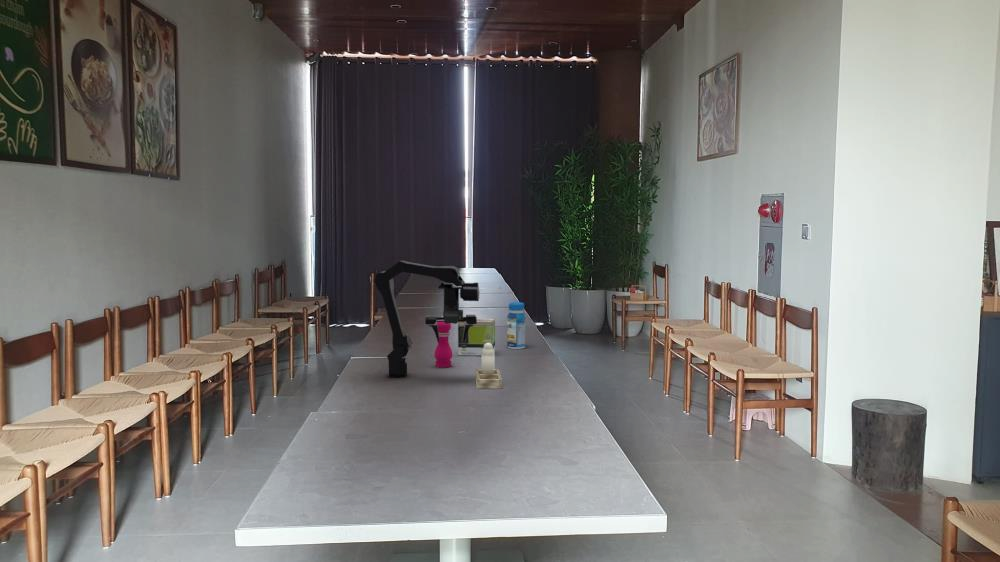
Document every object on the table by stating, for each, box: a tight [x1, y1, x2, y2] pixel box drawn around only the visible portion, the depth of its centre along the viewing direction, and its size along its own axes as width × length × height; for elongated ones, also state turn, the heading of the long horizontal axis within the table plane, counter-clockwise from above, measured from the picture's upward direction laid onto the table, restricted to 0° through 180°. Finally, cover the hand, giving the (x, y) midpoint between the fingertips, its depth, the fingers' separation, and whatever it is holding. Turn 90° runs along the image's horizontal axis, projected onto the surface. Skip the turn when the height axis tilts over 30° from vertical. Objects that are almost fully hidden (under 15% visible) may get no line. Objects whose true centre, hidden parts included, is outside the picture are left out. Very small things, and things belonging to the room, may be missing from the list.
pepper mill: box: [433, 315, 453, 368], centre depth 297 cm, size 7×7×20 cm
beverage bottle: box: [506, 301, 527, 350], centre depth 335 cm, size 8×8×20 cm
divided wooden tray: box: [474, 368, 504, 390], centre depth 271 cm, size 9×17×3 cm, turn 4°
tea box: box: [457, 318, 496, 357], centre depth 321 cm, size 15×10×15 cm, turn 84°
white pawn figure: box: [480, 343, 496, 374], centre depth 274 cm, size 5×5×13 cm
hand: (451, 342), depth 278 cm, fingers open, 9 cm apart
